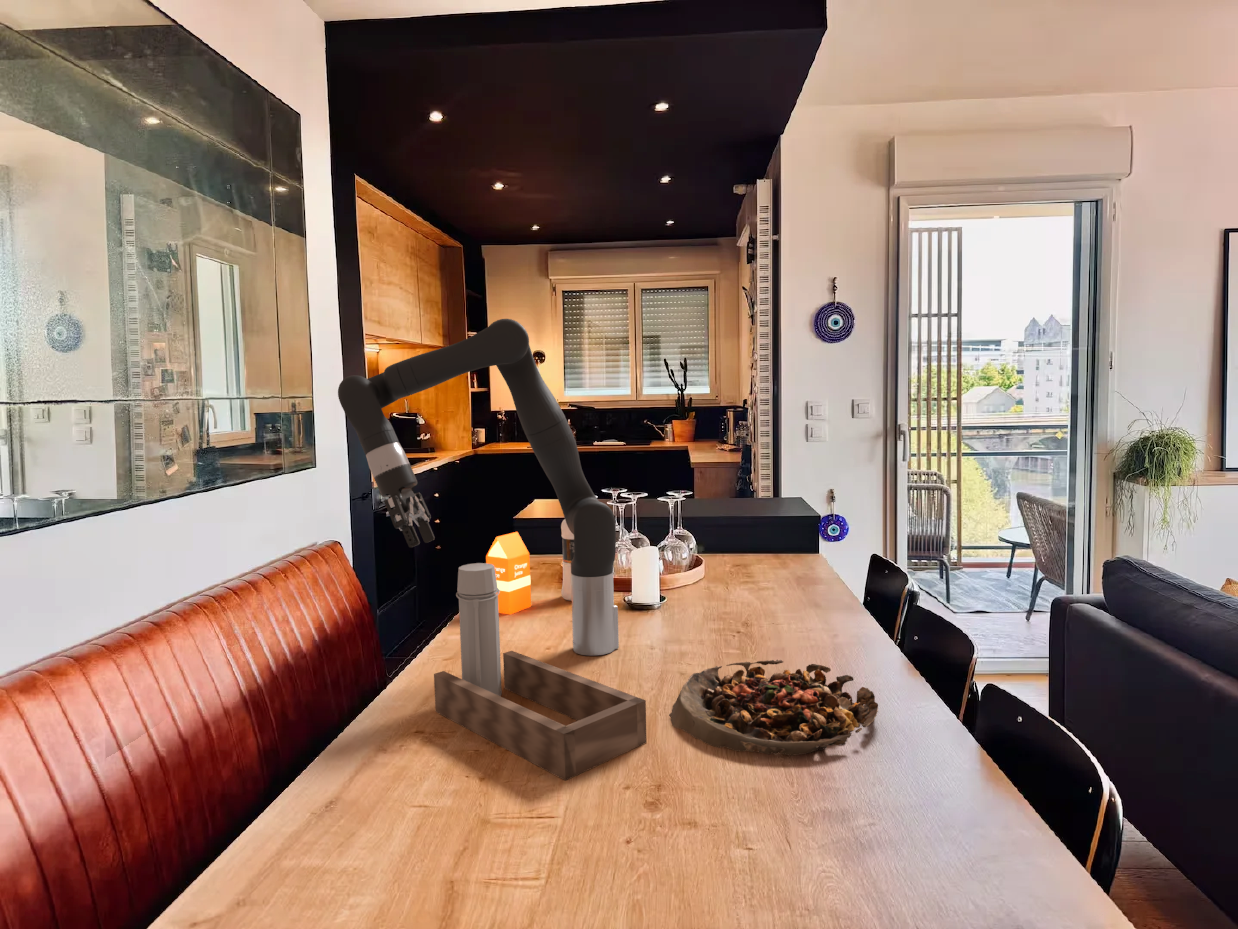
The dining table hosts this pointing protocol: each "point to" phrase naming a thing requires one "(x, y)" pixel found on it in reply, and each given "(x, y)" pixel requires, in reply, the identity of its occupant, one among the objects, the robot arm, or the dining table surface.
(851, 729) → the food dish
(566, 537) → the vodka
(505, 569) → the orange juice
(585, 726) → the bottle rest
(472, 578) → the water bottle
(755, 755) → the dining table surface
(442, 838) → the dining table surface
